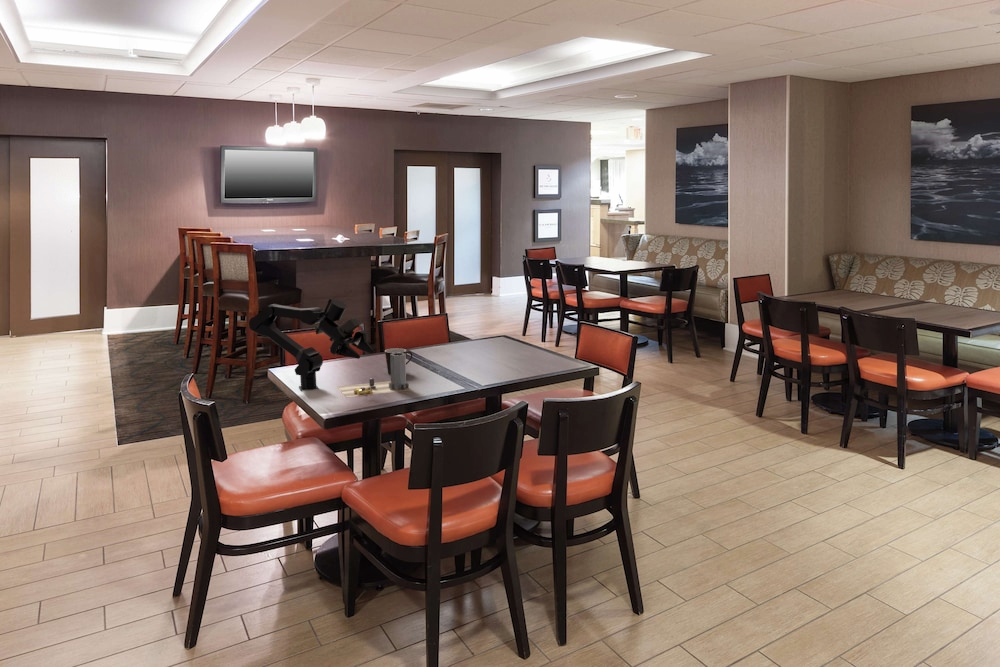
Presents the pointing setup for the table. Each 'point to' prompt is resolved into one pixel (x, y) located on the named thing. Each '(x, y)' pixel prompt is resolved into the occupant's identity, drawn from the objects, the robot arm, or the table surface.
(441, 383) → the table surface
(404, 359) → the grey octagonal tube
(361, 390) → the brass gear
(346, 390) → the gear board
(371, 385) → the steel peg
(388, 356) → the coffee mug
